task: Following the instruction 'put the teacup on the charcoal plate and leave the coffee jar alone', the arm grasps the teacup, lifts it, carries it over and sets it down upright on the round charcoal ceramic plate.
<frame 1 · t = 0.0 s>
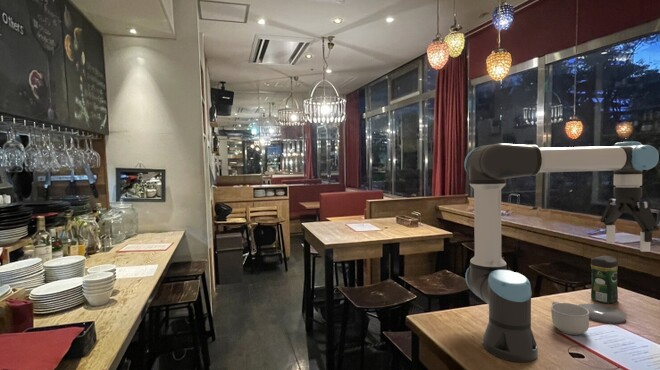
hand: (627, 246, 120), 28 cm above the table, tool pointing down, fingers open, 13 cm apart
charcoal plate: (600, 314, 129), on the table
teacup: (567, 329, 119), on the table
coffee jar: (603, 300, 144), on the table
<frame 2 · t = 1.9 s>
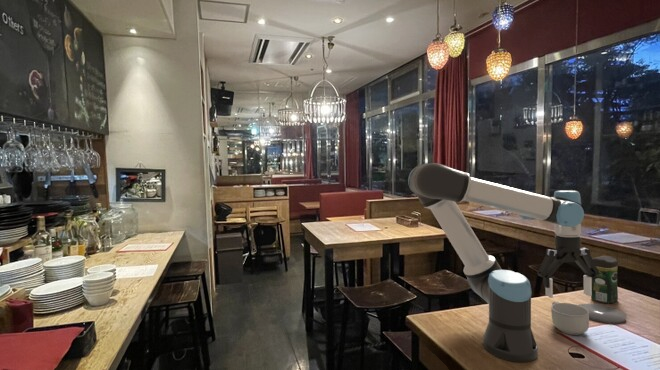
hand: (568, 295, 119), 12 cm above the table, tool pointing down, fingers open, 13 cm apart
nothing on the table moved.
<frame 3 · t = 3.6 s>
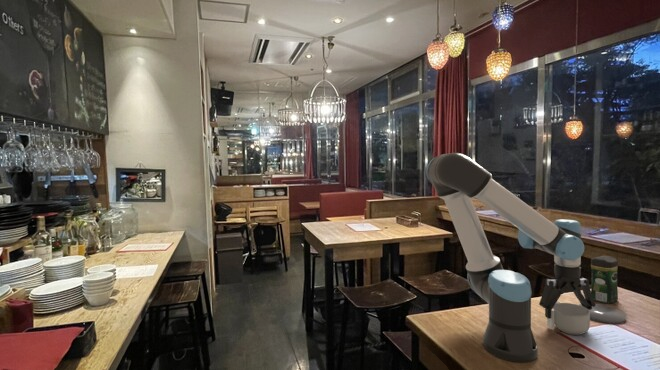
hand: (567, 326, 119), 1 cm above the table, tool pointing down, fingers closed on teacup, 11 cm apart
teacup: (568, 329, 119), on the table, touching gripper
everything else where it was.
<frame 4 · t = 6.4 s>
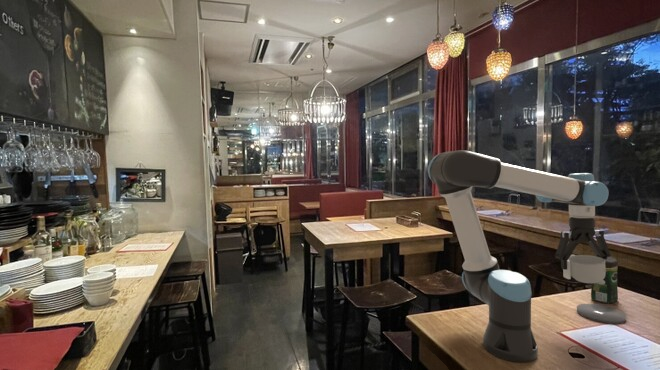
hand: (583, 277, 122), 17 cm above the table, tool pointing down, fingers closed on teacup, 11 cm apart
teacup: (584, 279, 122), point 16 cm above the table, touching gripper
everything else where it was.
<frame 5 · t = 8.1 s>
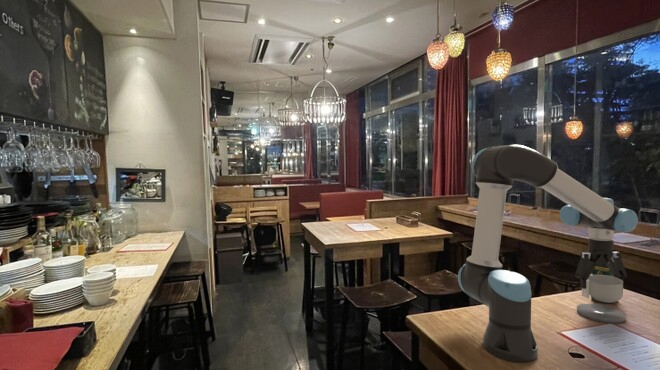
hand: (600, 296, 129), 7 cm above the table, tool pointing down, fingers closed on teacup, 11 cm apart
teacup: (601, 298, 129), point 6 cm above the table, touching gripper
everything else where it was.
when the fingers open (4 cm above the table, at t = 9.4 s): teacup drops 1 cm, resting on charcoal plate.
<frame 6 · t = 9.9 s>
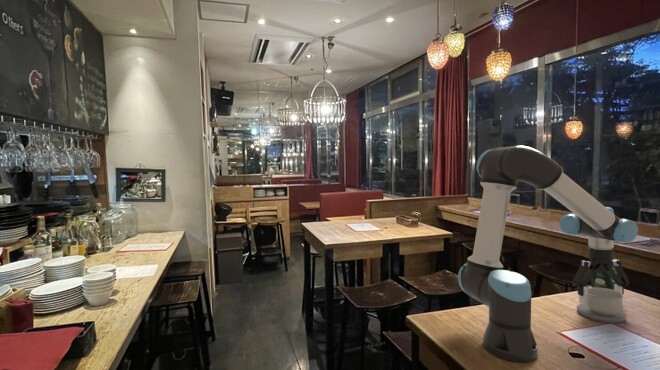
hand: (600, 303, 129), 5 cm above the table, tool pointing down, fingers open, 13 cm apart
teacup: (600, 311, 129), point 1 cm above the table, touching charcoal plate
everything else where it was.
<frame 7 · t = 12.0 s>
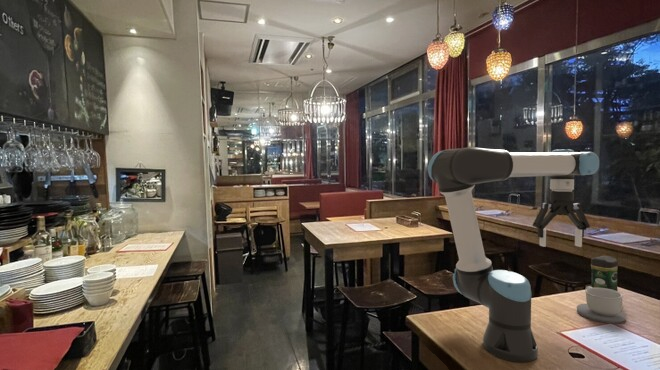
hand: (560, 246, 130), 26 cm above the table, tool pointing down, fingers open, 13 cm apart
nothing on the table moved.
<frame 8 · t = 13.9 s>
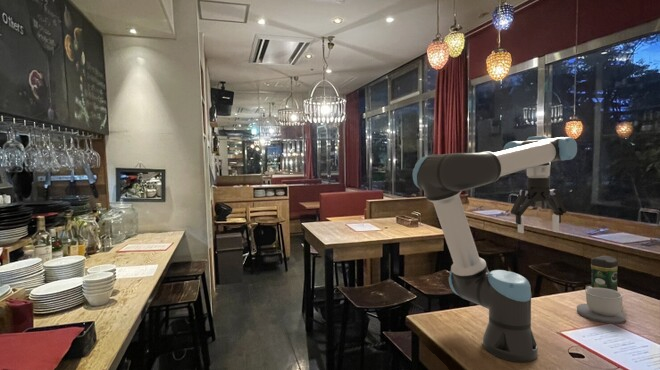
hand: (538, 232, 131), 32 cm above the table, tool pointing down, fingers open, 13 cm apart
nothing on the table moved.
at the end: teacup inside the target area on the charcoal plate (0.1 cm from its centre), point 1.3 cm above the charcoal plate's base; teacup tilted 0°; coffee jar moved 0.2 cm from its start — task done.
